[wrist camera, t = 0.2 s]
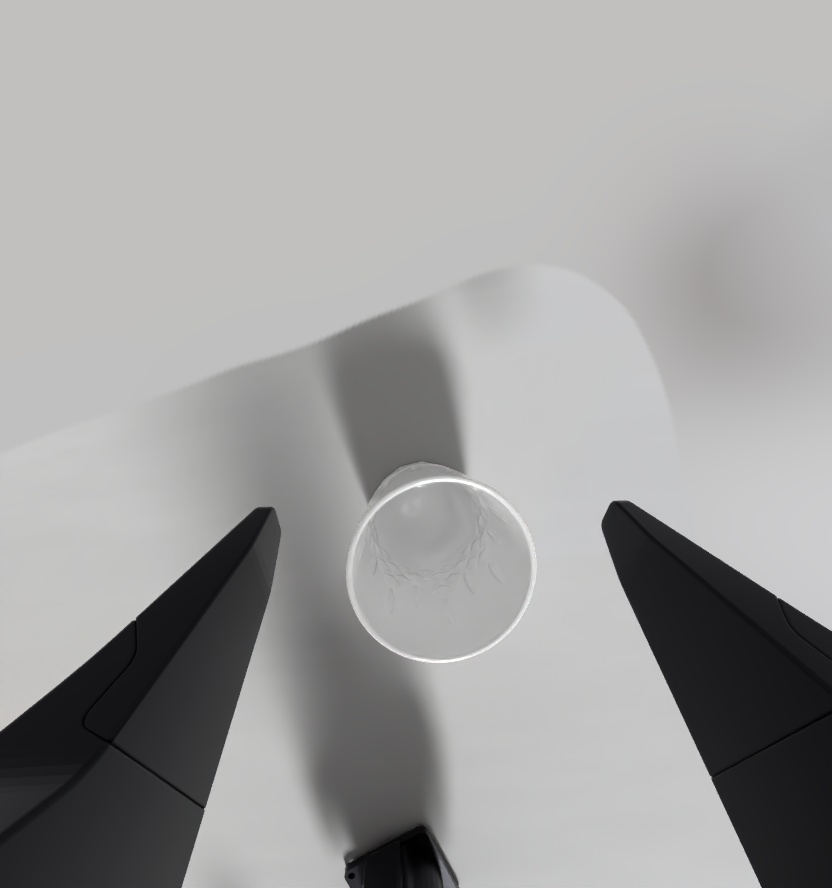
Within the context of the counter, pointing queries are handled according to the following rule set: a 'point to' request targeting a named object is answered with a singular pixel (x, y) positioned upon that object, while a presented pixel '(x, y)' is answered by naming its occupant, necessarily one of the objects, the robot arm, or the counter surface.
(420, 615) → the white cup
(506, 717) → the counter surface
